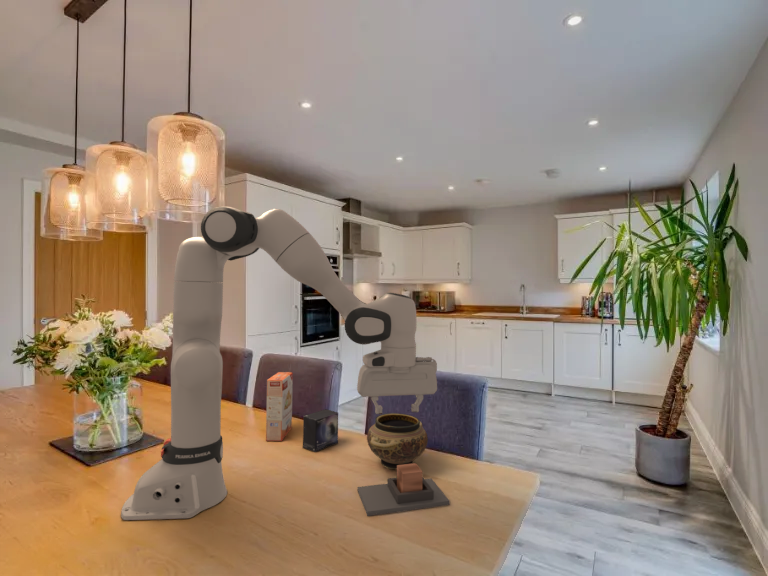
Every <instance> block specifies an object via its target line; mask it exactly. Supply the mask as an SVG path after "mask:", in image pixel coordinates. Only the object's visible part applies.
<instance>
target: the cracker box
mask: <svg viewBox="0 0 768 576" xmlns="http://www.w3.org/2000/svg"><path fill="white" fill-rule="evenodd" d="M293 376H294V373H293V372H291V371H285V372H284V371H278V372H276V373H275V374H274V375H272V376H270V378H268V379H266V417H265V418H266V423H265V425H266V426H265V428H266V429H265V440H266V442H282V441H283V440H284V438H285V437H286V436H287V435H288V433H289V432H290V431H291V430H292V428H293V425H292V423H293V381H294V379H293V378H294V377H293Z"/></svg>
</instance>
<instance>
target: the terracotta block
mask: <svg viewBox="0 0 768 576" xmlns="http://www.w3.org/2000/svg"><path fill="white" fill-rule="evenodd" d="M396 477H397V488H398V490H399V492H400V493H404V492H412V491H420V490H422V477H423V470H422V469H421V468H420V466H419V465H418V464H417V463H416V462H415V463H413V464H404V465H397V469H396Z"/></svg>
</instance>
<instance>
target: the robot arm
mask: <svg viewBox="0 0 768 576" xmlns="http://www.w3.org/2000/svg"><path fill="white" fill-rule="evenodd" d="M200 223H201V224H200V233H201V236H194V237H189V238H186V239H185V240H183V241H182V242H181V243H180V244H179V246H178V251H177V255H176V259H175V266H174V274H173V275H174V276H173V281H174V282H173V301H172V303H173V304H172V305H173V306H172V307H173V308H172V356H171V362H170V406H171V407H170V408H171V409H170V411H171V412H170V420H171V421H170V423H171V424H170V425H171V426H170V438H167V439H166V440H165V441H164V442H163V446H162V448H161V451H160V457H161V459H160V460H159V461H157V462H156V463H155V464H154V465H152V466H151V467H150V468H149V469H147V470H146V471H144V473H143V474H142V475H141V476H140V478H139V479H138V481H137V482H136V485H135V488H134V491H133V494H131V495H130V496H129V497H128V498H127V499H126V500H125V502H124V504H123V505H122V507H121V511H120V512H121V513H120V516H121V519H122V520H124V521H138V520H139V521H140V520H142V521H143V520H168V519H169V520H172V519H175V520H176V519H190V518H193V517H195V516H196V515H197V514H199V513H200V512H203V511H205V510H207V509H209V508H212V507H214V506H216V505H217V504H219V503H220V502H222V501H223V500H224V499H225V498H226V497H227V495H228V489H227V486H226V482H225V478H224V473H223V468H222V467H223V465H222V460H223V457H224V452H223V451H224V442H223V436H222V435H221V425H222V424H221V421H222V418H221V417H222V416H221V415H222V414H221V413H222V412H221V409H222V408H221V405H222V391H223V369H224V368H223V367H224V366H223V365H224V361H223V355H222V354H221V351H220V350H221V349H220V346H221V332H222V331H221V329H222V319H223V318H222V317H223V304H224V303H223V302H224V301H223V300H224V299H223V297H224V296H223V295H224V293H223V292H224V291H223V290H224V268H225V264H226V262H227V261H236V260H238V259H241V258H242V259H243V258H246V257H250V256H251V255H254V254H255V253H257V252H258V251H259V250H260V249H261V250H263V251H265V252H266V253H267V254H268V255H269V256H270V257H271V259H272V260H273V261H274V262H275V263H276V264H277V265H278V266H279V267H280V268H281V269H282V270H283V271H284V272H285V273H287V274H288V275H289V276H290V277H292V278H293V279H294V280H296V281H297V282H299V283H301V284H303V285H305V286H308V287H309V288H312V289H314V290H315V291H316V292H318V293H319V294H320V295H322V296H323V297H324V298H325V300H327V302H329V303H330V304H331V306H333V308H334V309H335V310H336V311H337V312H338V313H339V314H340V316H341V317H342V318H343V320H344V330H345V334H346V336H347V337H348V338H349V339H350V340H351V341H352V342H354V343H355V344H358V345H370V344H374V343H379V342H380V349H378V350H375V351H372V352H369V353H366V354H364V355H363V356H362V362H363V365H362V366H361V367H360V369H359V371H358V375H357V376H358V377H357V383H356V384H357V385H356V386H357V387H356V390H357V393H358V394H359V395H360V396H361V397H362V398H366V397H370V400H371V401H372V403H373V404H374V409H375V410H374V412H375V414H376V415H383V406H382V405H381V404H380V405H379V403H378V402H377V401H379V397H391V396H396V397H397V396H415V397H416V399H415V401H414V403H411V404H410V407H411V408H410V412H412V413H419V411H420V405H421V404H422V402H423V400H424V396H425V395H435V393H436V392H437V391H438V380H437V374H436V373H437V370H438V363H437V361H436V360H435V359H434V358H432V357H429V356H426V357H422V356H421V357H420V356H416V355H417V343H416V338H415V337H416V332H417V308H416V307H417V306H416V303H415V300H414V299H413V298H412V297H410V296H408V295H405V294H401V293H394V292H386V293H385V294H384V295H382V296H381V297H379V298H377V299H375V300H373V301H371V302H368V303H366V302H364V301H362V300H360V299H359V298H358V297H357V296H356V295H355V294H354V293H353V291H351V290H350V289H349V287H347V285H346V284H345V283H344V282H343V281H342V280H341V279H340V278H339V276H338V275H337V274H336V272H335V270H334V269H333V267H332V266H333V265H331V262H330V261H329V259H328V257H327V255H326V253H325V251H324V250H323V249H322V247H321V245H320V244H319V243H318V241H317V240H316V239H315V237H314V236H313V235H312V234H311V233H310V232H309V231H308V230H307V229H306V227H304V226H303V225H302V224H301V223H300V222H299V221H297V219H295V218H294V217H293V216H291V215H290V214H288V212H286V211H285V210H283V209H281V208H272V209H269V210H267V211H265V212H263V213H262V214H261V215H260V216H257V217H255V216H254V214H252V213H250V212H247V211H245V210H242V209H238V208H236V207H233V206H217V207H213V208H212V209H209V211H207V212H206V213H205V214H204V216H203V217H202V219H201V222H200Z"/></svg>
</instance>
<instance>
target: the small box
mask: <svg viewBox="0 0 768 576" xmlns="http://www.w3.org/2000/svg"><path fill="white" fill-rule="evenodd" d="M302 419H303V423H302V424H303V426H302V430H303V431H302V434H303V435H302V449H305V450H308V451H310V452H312V453H313V452H314V453H317V452H320V451H321V450H324V449H327V448H329V447H331V446H334V445H336V444H338V443H339V412H338V411H333V410H331V409H322V410H318V411H316V412H313V413H309V414H305V415H303V417H302Z"/></svg>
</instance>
